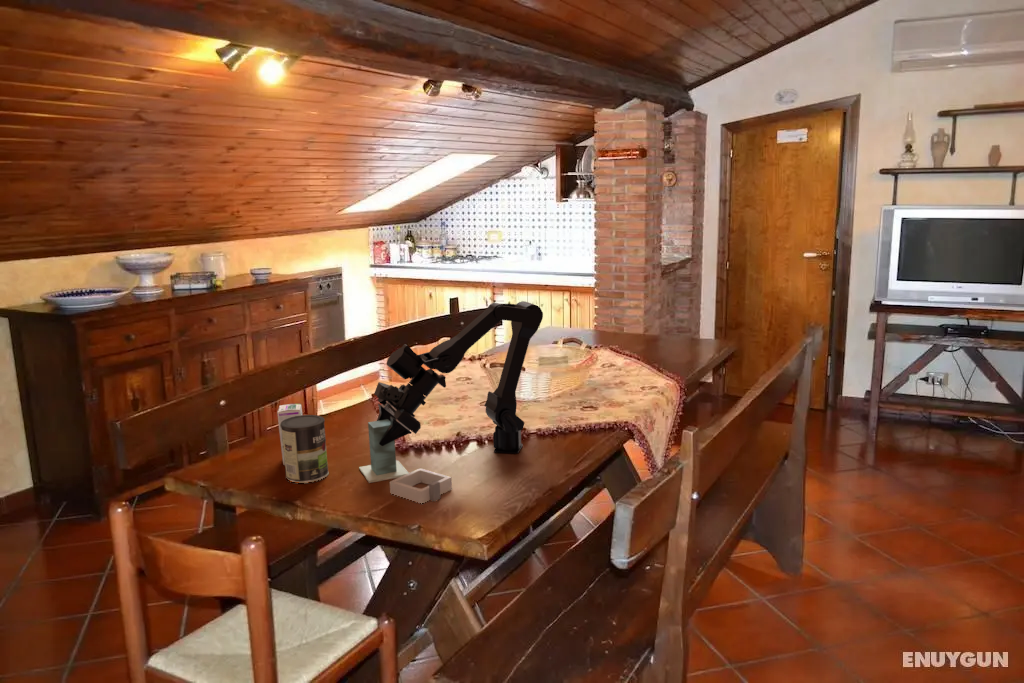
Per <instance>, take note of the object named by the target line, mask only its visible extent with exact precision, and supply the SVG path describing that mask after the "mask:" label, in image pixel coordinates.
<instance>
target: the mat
mask: <svg viewBox="0 0 1024 683" xmlns="http://www.w3.org/2000/svg"><path fill="white" fill-rule="evenodd" d="M358 469H359V471H360V472H361V474H362V475H363V476H364V478H365V479H366V481H367V482H368V484H370V483H376V482H381V481H387V480H392V479H393V480H394V479H397V478H399V477H401V476H404V475H406V474H408V473H410V472H409V471H408V470H407V469H406V468H405V467H404V465H403V464H402V463H401V462H400V461H399V459H398V460H397V459H396V469H397V472H391V473H386V474H381V475H376V474H375V473H374V471H373V470H372V469H371V464H368V465H363V466H359V467H358Z"/></svg>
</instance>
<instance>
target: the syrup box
mask: <svg viewBox="0 0 1024 683" xmlns="http://www.w3.org/2000/svg"><path fill="white" fill-rule="evenodd" d="M302 408H303V405H302V403H288V404H282V405H281V404H280V405H279V406H278V409H277V421H278V432H279V440H280V450H281V457H282V464H283V466H285V460H284V449H283V439H282V429H281V425H280V424H281V422H282V421H283V420H285V419H288V418H291V417H294V416H301V415H303V409H302Z"/></svg>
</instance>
